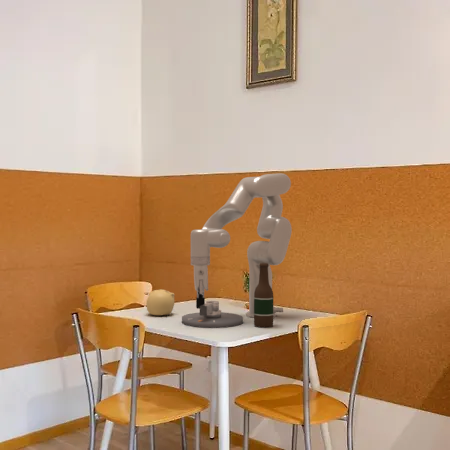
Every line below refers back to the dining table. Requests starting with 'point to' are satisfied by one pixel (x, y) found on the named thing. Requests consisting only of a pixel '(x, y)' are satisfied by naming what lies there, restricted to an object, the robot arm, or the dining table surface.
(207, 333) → the dining table surface
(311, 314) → the dining table surface
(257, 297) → the beer bottle
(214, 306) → the dial
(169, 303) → the sculpture
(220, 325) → the dial plate
